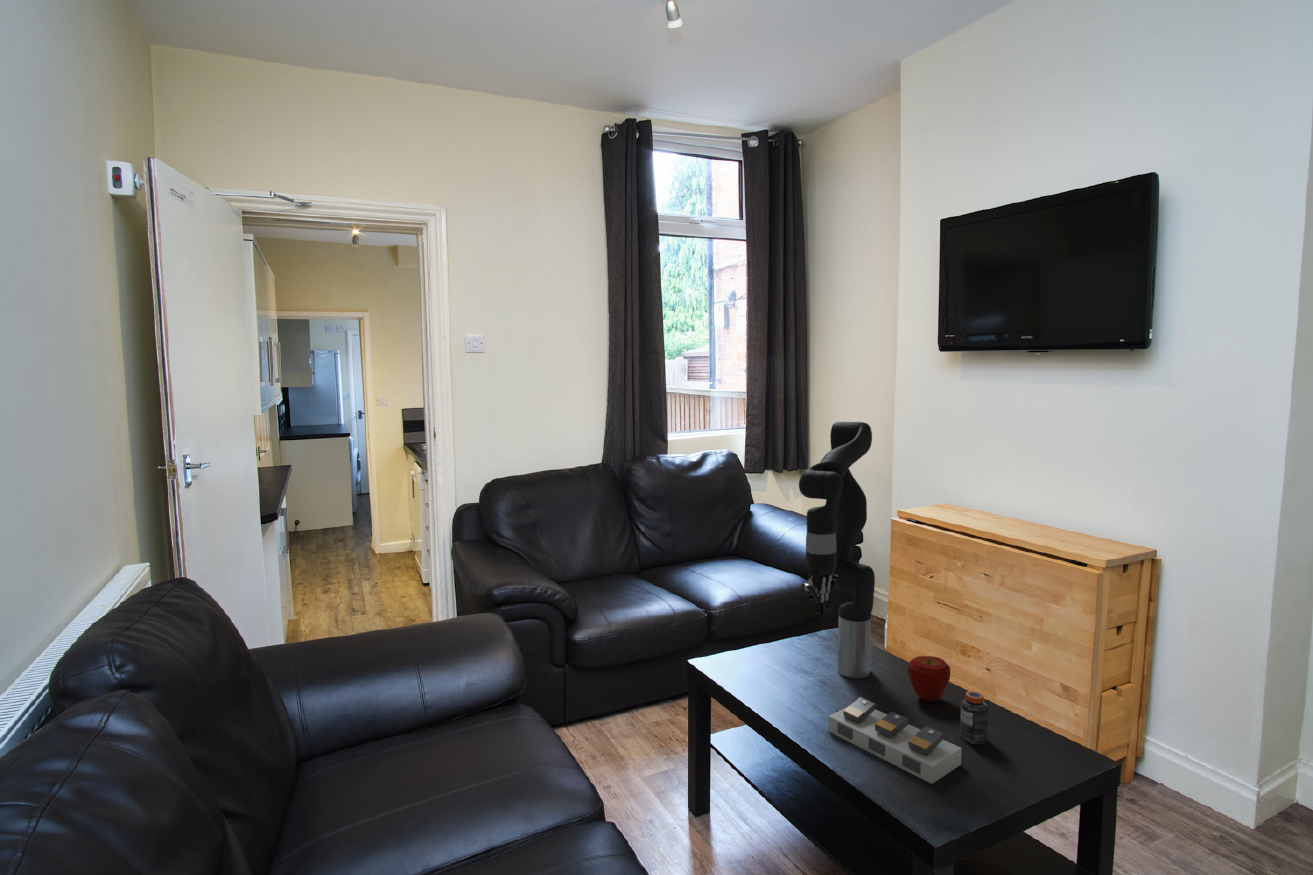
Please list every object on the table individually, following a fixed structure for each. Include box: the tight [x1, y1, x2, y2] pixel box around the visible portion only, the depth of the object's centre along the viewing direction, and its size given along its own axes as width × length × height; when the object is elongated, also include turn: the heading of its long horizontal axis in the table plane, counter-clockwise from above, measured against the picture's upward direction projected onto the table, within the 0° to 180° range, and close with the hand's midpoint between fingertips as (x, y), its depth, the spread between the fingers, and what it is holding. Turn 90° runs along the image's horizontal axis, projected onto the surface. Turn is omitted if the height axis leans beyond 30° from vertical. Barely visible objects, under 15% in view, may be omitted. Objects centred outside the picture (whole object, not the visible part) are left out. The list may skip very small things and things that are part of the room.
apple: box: [907, 655, 951, 703], centre depth 187 cm, size 11×11×12 cm
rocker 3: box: [908, 725, 944, 756], centre depth 156 cm, size 7×4×2 cm, turn 127°
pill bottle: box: [959, 690, 989, 745], centre depth 166 cm, size 6×6×11 cm
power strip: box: [828, 707, 962, 785], centre depth 164 cm, size 12×30×4 cm, turn 37°
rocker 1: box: [843, 696, 877, 724], centre depth 170 cm, size 7×4×2 cm, turn 127°
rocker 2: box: [875, 711, 909, 738], centre depth 163 cm, size 7×4×2 cm, turn 127°
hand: (821, 614), depth 175 cm, fingers closed
